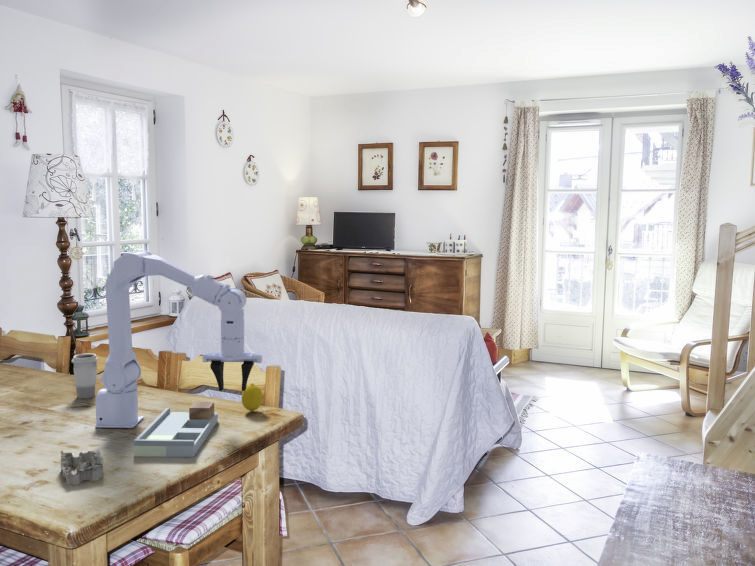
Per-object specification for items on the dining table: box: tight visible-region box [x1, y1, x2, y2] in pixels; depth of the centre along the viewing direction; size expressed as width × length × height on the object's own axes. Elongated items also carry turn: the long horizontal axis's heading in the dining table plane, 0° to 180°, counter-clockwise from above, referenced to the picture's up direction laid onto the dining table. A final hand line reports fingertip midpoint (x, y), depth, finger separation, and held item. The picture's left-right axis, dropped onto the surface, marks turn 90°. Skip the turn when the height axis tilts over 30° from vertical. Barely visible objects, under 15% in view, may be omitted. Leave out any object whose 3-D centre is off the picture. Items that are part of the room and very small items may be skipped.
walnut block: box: [188, 401, 215, 420], centre depth 152 cm, size 5×5×3 cm
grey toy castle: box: [60, 449, 104, 486], centre depth 123 cm, size 11×8×4 cm
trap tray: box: [133, 406, 219, 458], centre depth 144 cm, size 13×23×4 cm, turn 2°
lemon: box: [241, 383, 263, 413], centre depth 164 cm, size 6×6×8 cm
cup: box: [71, 352, 99, 400], centre depth 174 cm, size 7×7×12 cm
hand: (232, 389), depth 152 cm, fingers open, 5 cm apart
